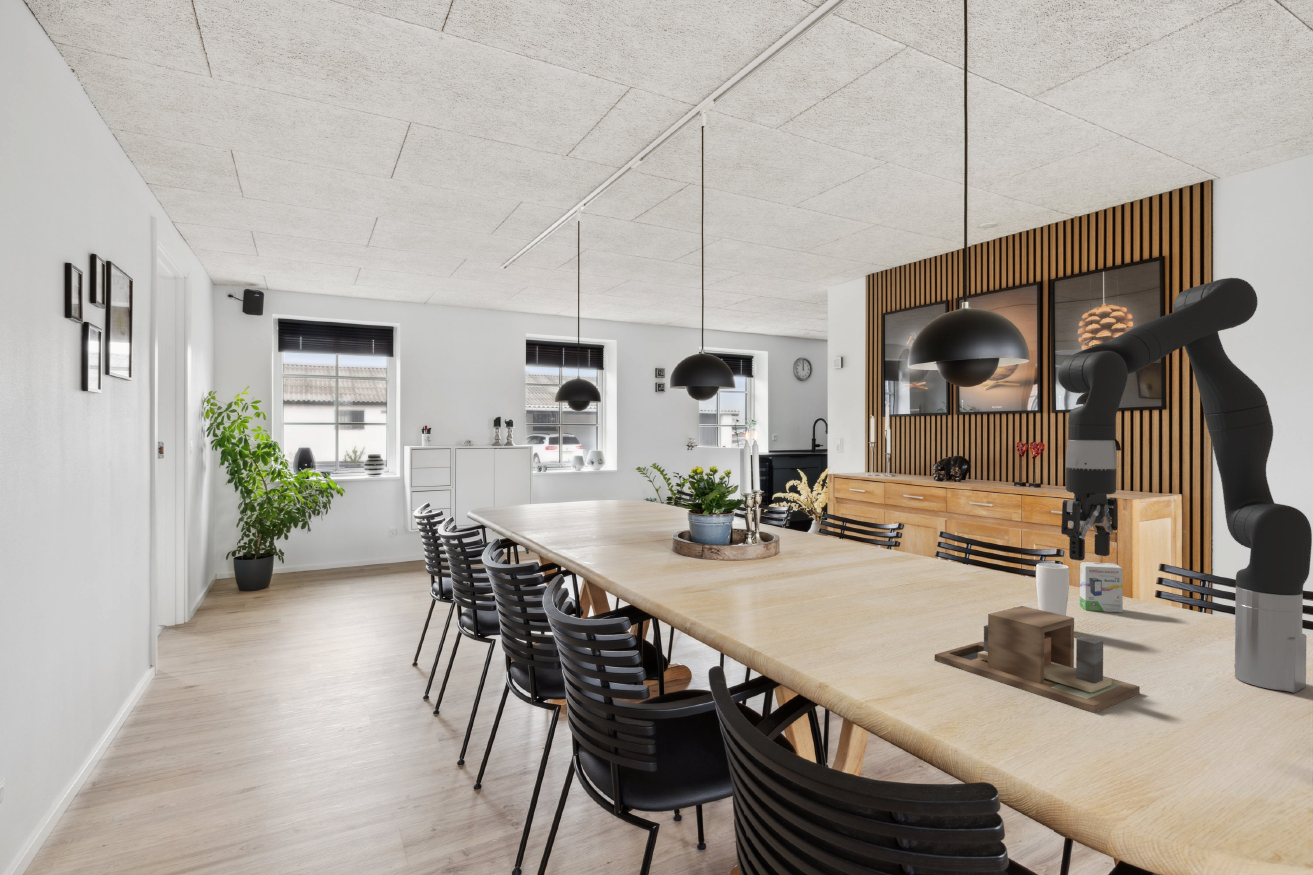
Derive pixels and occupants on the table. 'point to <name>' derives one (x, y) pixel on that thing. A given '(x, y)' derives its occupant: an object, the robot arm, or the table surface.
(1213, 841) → the table surface
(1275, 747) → the table surface
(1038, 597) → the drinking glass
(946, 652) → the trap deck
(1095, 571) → the ink box
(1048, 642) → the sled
